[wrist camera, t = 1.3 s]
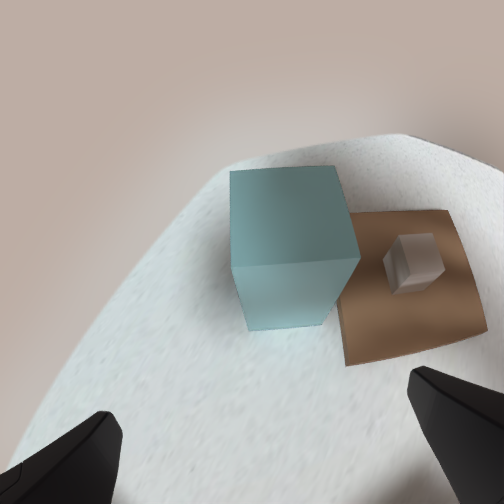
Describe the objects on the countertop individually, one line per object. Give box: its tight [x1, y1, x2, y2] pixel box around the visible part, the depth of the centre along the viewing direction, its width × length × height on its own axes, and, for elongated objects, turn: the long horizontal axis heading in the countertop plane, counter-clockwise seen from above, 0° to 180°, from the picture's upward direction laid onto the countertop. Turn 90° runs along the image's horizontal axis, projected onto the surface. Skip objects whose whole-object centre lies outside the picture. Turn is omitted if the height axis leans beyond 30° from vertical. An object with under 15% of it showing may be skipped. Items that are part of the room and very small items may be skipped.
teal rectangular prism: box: [230, 166, 361, 331], centre depth 18 cm, size 6×6×11 cm
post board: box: [336, 210, 488, 366], centre depth 21 cm, size 13×14×5 cm
